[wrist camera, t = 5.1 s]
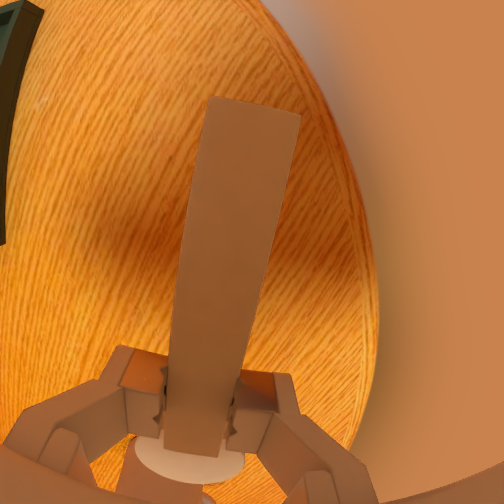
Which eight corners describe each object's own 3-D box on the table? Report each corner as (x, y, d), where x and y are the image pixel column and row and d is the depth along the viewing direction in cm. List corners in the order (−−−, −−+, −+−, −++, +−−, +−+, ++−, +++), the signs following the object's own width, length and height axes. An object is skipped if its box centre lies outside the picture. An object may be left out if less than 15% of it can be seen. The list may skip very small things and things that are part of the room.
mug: (114, 447, 27) (91, 524, 16) (157, 422, 25) (136, 518, 15) (194, 490, 30) (189, 560, 19) (243, 470, 28) (247, 552, 18)
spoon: (170, 104, 7) (144, 86, 5) (330, 137, 8) (365, 132, 5) (142, 450, 12) (133, 490, 9) (234, 466, 12) (234, 506, 10)
